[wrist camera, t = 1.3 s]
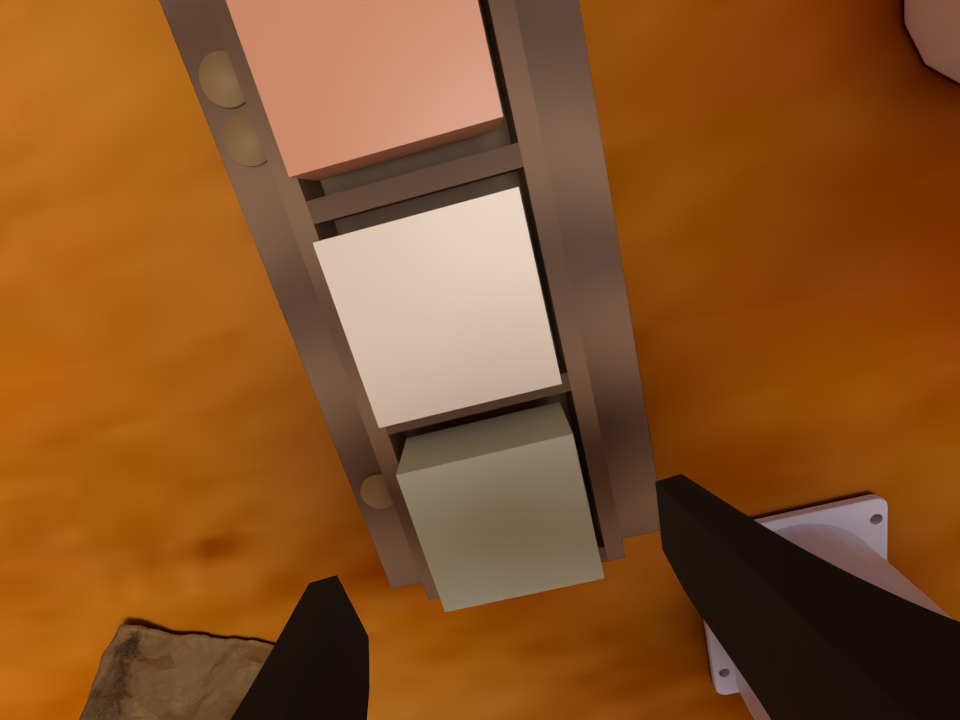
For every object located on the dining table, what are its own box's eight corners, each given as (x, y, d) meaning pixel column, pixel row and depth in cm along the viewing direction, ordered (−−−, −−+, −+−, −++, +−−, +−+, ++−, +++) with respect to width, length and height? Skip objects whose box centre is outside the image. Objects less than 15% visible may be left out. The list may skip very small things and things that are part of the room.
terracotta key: (498, 129, 13) (503, 116, 11) (318, 180, 13) (289, 177, 11) (447, -101, 11) (440, -169, 9) (244, -36, 12) (193, -88, 9)
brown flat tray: (647, 499, 21) (686, 566, 17) (399, 554, 21) (382, 631, 18) (536, -144, 14) (559, -274, 10) (178, -29, 15) (74, -110, 11)
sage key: (588, 531, 17) (604, 578, 15) (448, 561, 17) (445, 612, 15) (559, 401, 15) (572, 434, 13) (406, 438, 16) (395, 475, 13)
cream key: (549, 357, 15) (561, 384, 13) (392, 396, 15) (379, 428, 13) (511, 188, 13) (518, 186, 11) (337, 236, 14) (312, 242, 11)
